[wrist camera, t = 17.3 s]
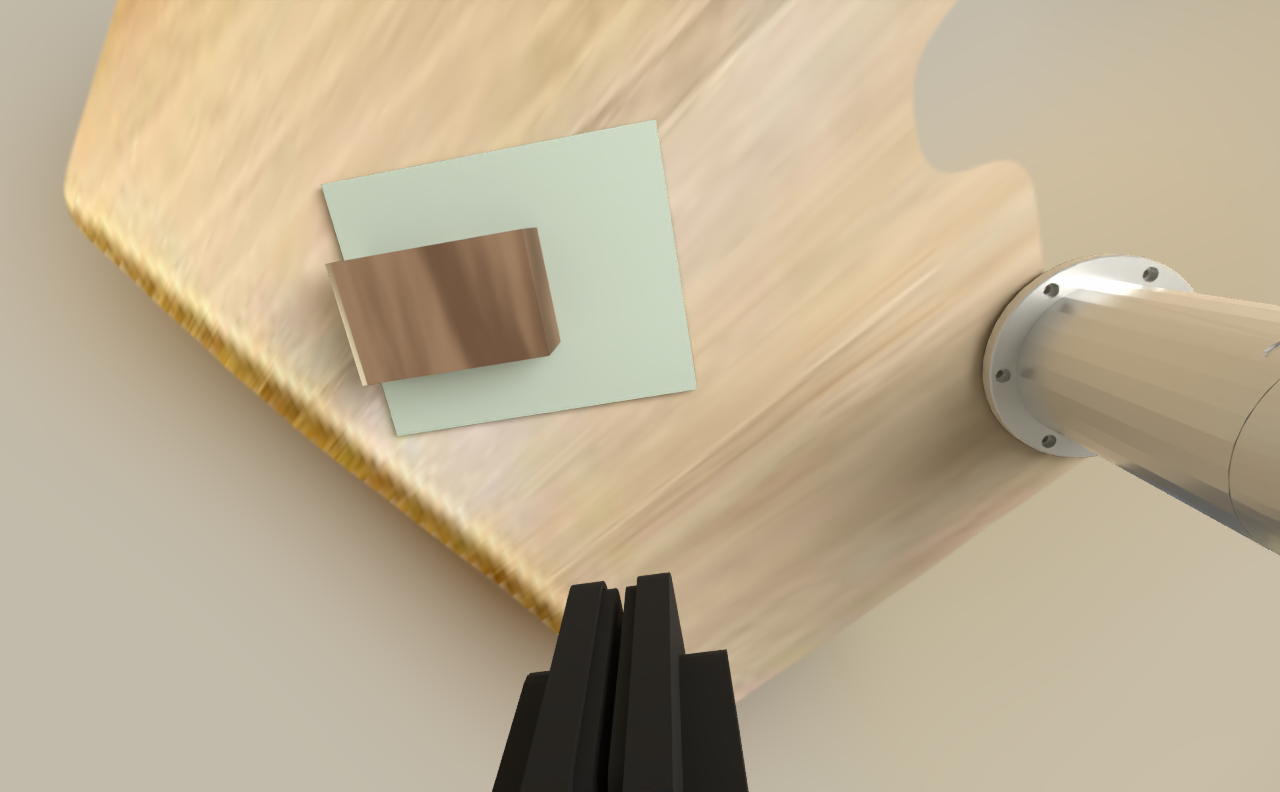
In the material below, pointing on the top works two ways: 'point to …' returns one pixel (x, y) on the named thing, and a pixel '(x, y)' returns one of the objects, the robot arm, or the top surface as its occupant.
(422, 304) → the walnut slab
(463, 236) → the sage mat
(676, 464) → the top surface
